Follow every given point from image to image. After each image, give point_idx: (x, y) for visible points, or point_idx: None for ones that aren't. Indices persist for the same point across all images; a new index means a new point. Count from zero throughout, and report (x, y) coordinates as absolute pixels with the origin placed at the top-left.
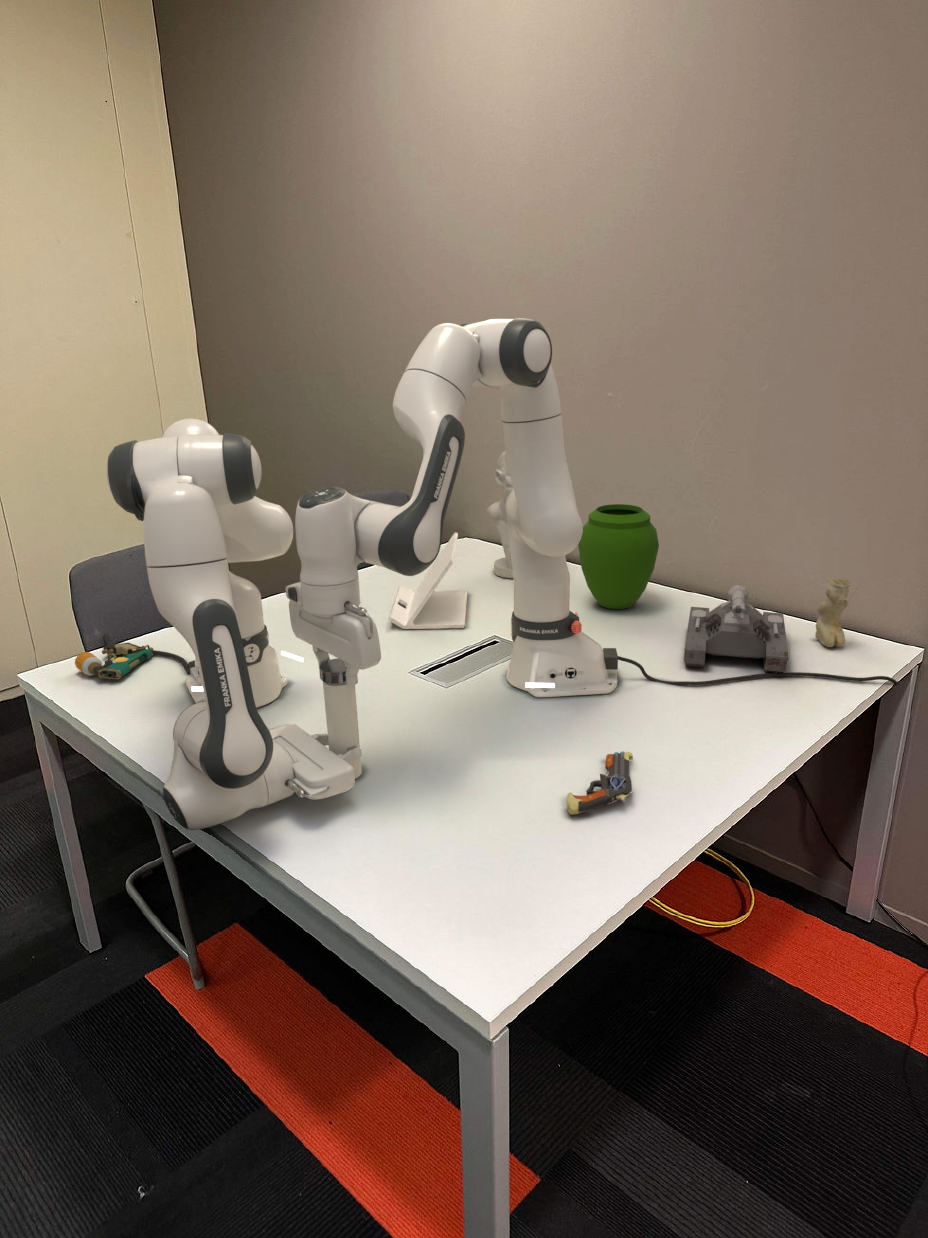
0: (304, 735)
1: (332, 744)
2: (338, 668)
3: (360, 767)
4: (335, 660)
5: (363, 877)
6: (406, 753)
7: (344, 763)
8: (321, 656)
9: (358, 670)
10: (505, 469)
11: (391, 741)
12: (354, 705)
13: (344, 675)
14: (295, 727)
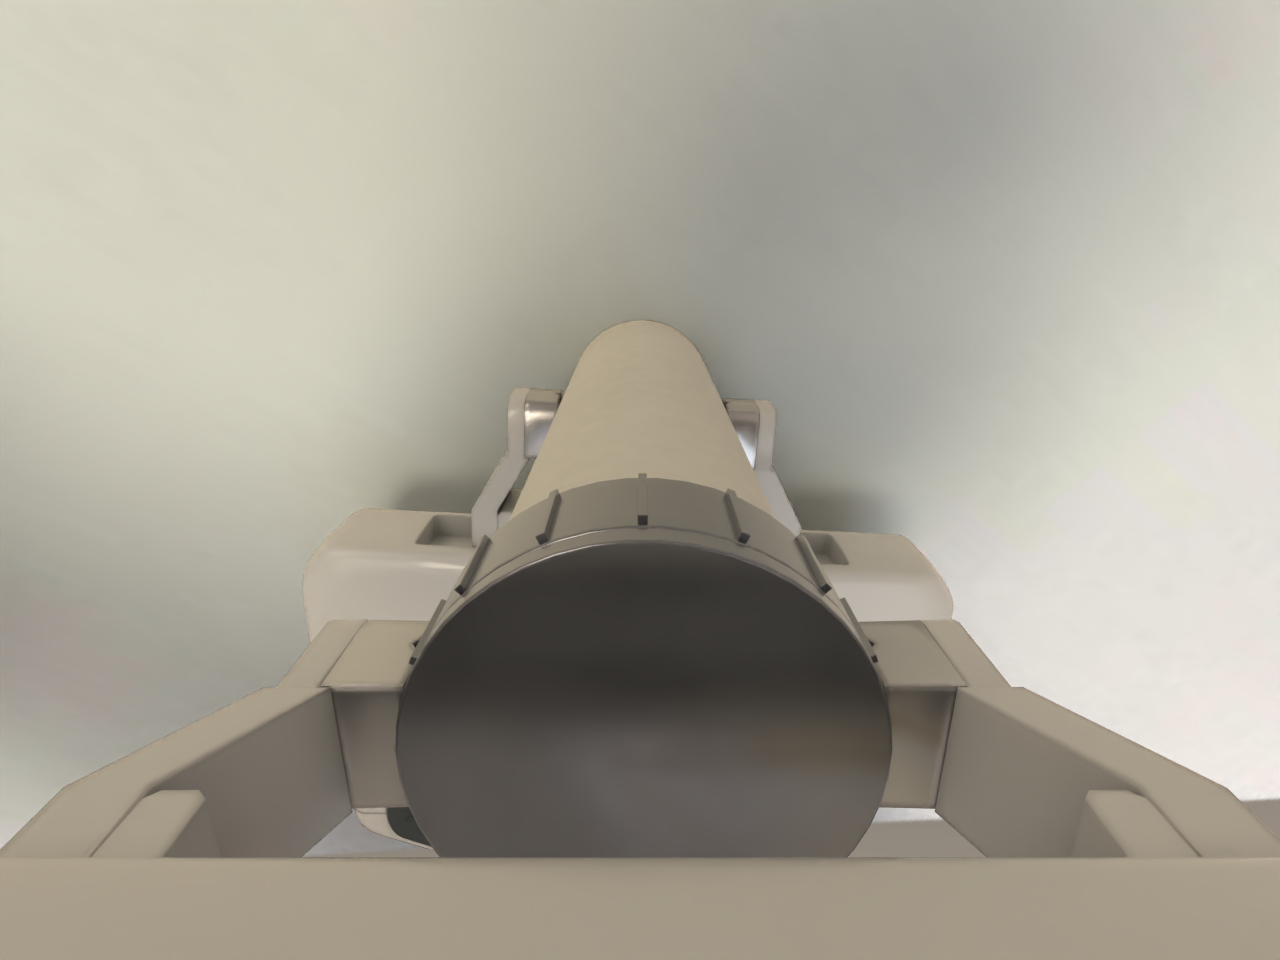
0: None
1: None
2: (746, 808)
3: (699, 355)
4: (479, 706)
5: (1195, 696)
6: (694, 40)
7: (890, 598)
8: (285, 824)
9: (1086, 726)
10: None
11: (528, 14)
12: (755, 475)
13: (907, 800)
14: (371, 576)
